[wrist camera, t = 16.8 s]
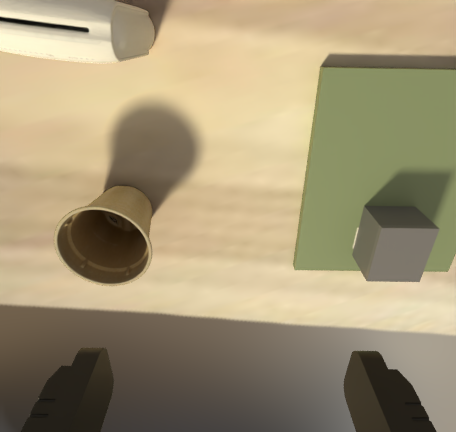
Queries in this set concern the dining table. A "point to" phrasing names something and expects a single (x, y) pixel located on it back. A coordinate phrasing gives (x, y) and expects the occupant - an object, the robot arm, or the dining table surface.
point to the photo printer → (75, 30)
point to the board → (378, 159)
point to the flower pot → (107, 238)
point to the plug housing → (393, 243)
